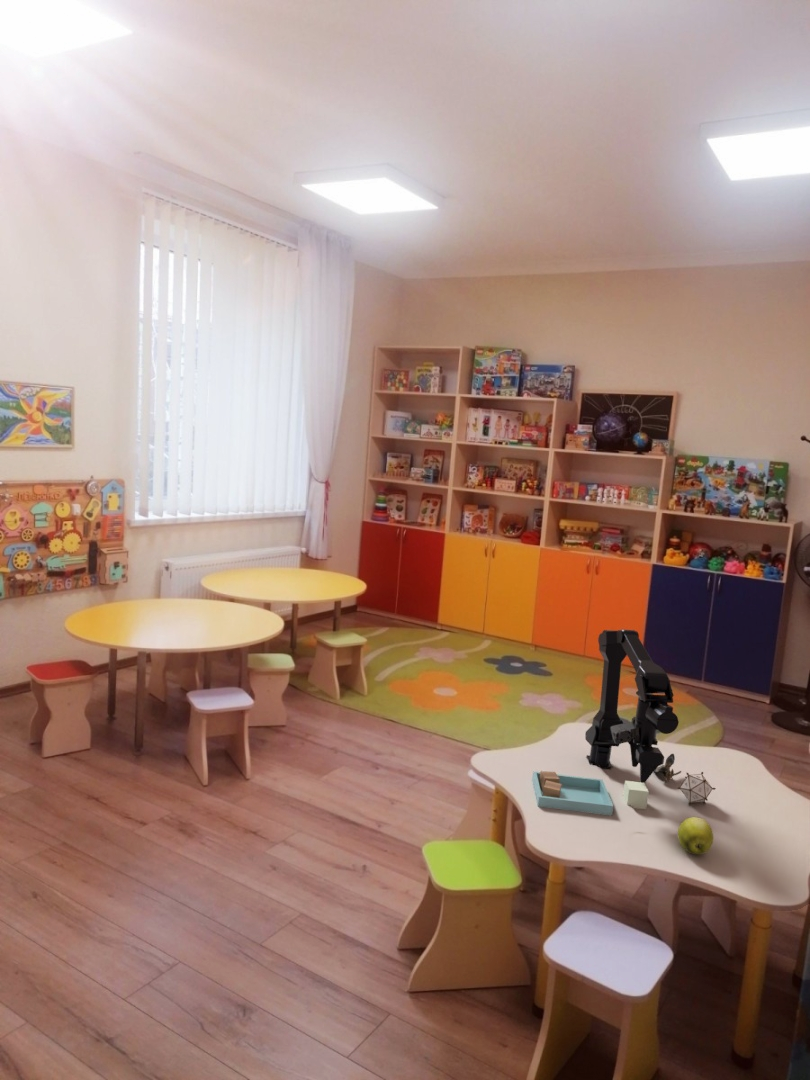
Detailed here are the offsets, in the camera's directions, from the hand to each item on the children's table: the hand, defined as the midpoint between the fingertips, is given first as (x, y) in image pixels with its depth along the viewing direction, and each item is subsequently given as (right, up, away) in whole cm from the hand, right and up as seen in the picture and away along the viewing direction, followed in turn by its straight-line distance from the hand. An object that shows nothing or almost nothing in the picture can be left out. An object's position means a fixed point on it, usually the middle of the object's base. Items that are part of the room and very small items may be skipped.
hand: (638, 774), depth 204 cm
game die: (+16, -9, +5) cm, 20 cm away
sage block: (-1, -8, +1) cm, 8 cm away
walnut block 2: (-23, -6, -3) cm, 24 cm away
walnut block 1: (-23, -5, +3) cm, 24 cm away
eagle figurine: (+13, -7, +19) cm, 24 cm away
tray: (-18, -6, 0) cm, 19 cm away
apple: (+7, -12, -20) cm, 24 cm away
